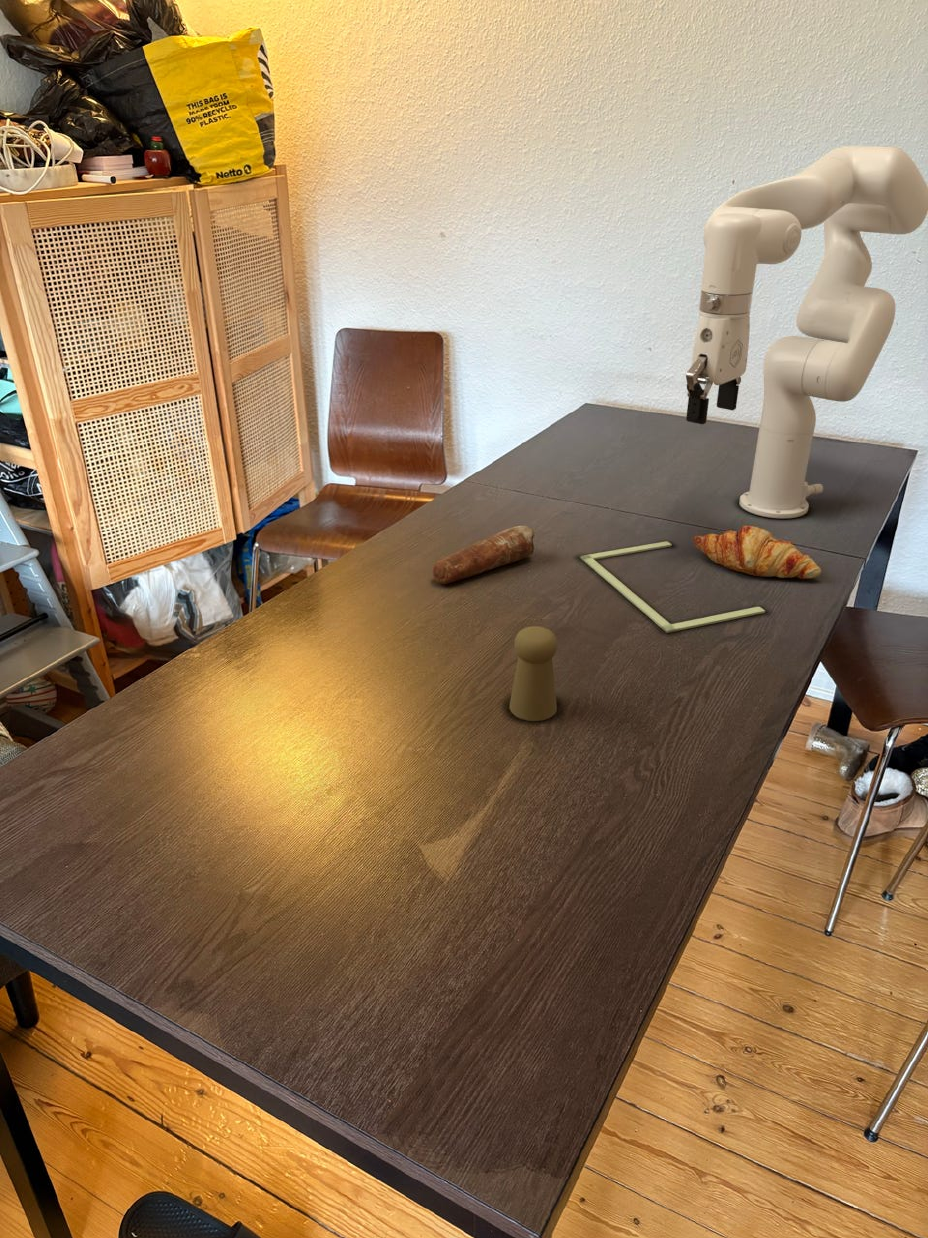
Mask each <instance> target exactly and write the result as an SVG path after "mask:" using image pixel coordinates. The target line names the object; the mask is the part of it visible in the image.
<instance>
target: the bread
mask: <svg viewBox="0 0 928 1238" xmlns="http://www.w3.org/2000/svg"><path fill="white" fill-rule="evenodd" d="M534 533H535V532H534V530H533V529H532V528H530V527H528V526H527V525H524V524H522V525H517V526H514V527H513V526H512V527H509V528H508V529H505V530H502V531H500V532H497V533H495V534H493V535H491V536H489V537H486V538H484V539H481V540H478V541H477V542H475V543H473V544H471V545H469V546H467V547H465V548H462V549H460V550H458V551H456V552H454V553H452V554H450V555H448V556H446V557H444V558H443V559H440V560H438V561H435V563H434V565H433V567H432V574H433V579H434V580H435V581H436V582H437V583H438V584H442V585H447V584H451V583H453V582H457V581H460V580H463V579H467V578H470V577H474V576H477V575H479V574H482V573H484V572H487V571H490V570H492V569H495V568H498V567H502V566H504V565H508V564H511V563H514V562H517V561H521V560H523V559H526V558H528V557H529V556H531V555H533V553H534V550H535V546H534V545H535V544H534V541H533V540H534Z"/></svg>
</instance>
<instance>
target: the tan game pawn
mask: <svg viewBox="0 0 928 1238" xmlns="http://www.w3.org/2000/svg"><path fill="white" fill-rule="evenodd" d="M557 650H558V640H557V637H556V635H555V634H554V632H553V631H552V630H551V629H549V628H547V627H543V626H537V625H532V626H528V627H524V628H522V629H521V630H519V631H518V632H517V634H516V636H515V637H514V651H515V653H516V655H517V656H518V657H517V663H516V666H515V667H516V668H515V672H514V679H513V685H512V689H511V694H510V700H509V707H508V708H509V710H510V713H511V714H513V716H515V717H516V718H518V719H520V720H523V721H528V722H539V721H545V720H548V719H550V718H552V717H553V716H555V714H556V713H557V711H558V706H557V705H558V704H557V695H556V684H555V675H554V665H553V664H554V663H553V657H555V655H556V653H557Z"/></svg>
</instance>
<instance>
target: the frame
mask: <svg viewBox="0 0 928 1238" xmlns="http://www.w3.org/2000/svg"><path fill="white" fill-rule="evenodd" d="M670 547H672V543H670V542H669V541H668V540H667V541H666V540H665V541H661V542H654V543H649V544H641V545H637V546H632V547H631V546H630V547H625V548H620V549H613V550H608V551H602V552H597V553H590V554H583V555H580V556H579V557H580V558H579V559H581V560H582V561H583V562H584V563H585V564H586V565H587V566H589V567H590V568H591V569H592V570H593V571H595V572H596V573H597V574H598V575H599V576H601V577H602V578H603V579H604V580H605V581H606V582H607V583H608V584H610V585H611V586H612V587H613V588H614V589H615V590H617V591H618V592H619V593H620V594H621V595H622V596H623V597H625V598H626V599H627V600H628V601H629V602H631V603H632V604H633V605H634V606H635V607H636V608H638V609H639V610H640V611H641V612H642V613H643V614H645V616H646V617H648V618H649V619H650V620H651V621H653V622H654V623H655V624H656V625H657V626H658V627H659V628H661V629H662V630H663V631H664V632H665V633H666V634H668V633H674V632H679V631H683V630H689V629H694V628H698V627H703V626H707V625H713V624H717V623H718V624H719V623H722V622H723V623H724V622H728V621H733V620H736V619H741V618H746V617H751V616H757V615H762V614H766V610H765V609H763V608H762V607H761V606H753V607H750V608H749V607H748V608H744V609H739V610H735V611H729V612H725V613H719V614H715V615H710V616H705V617H700V618H696V619H695V618H694V619H691V620H685V621H680V622H675V623H670V622H668V620H666V619H665V618H664V617H663V616H661V614H659V613H658V612H657V611H656V610H655V609H653V608H652V607H651V606H650V605H649V604H647V602H645V601H644V600H643V599H642V598H640V597H639V596H638V595H637V594H635V592H633V591H632V590H631V589H629V587H627V586H626V585H625V584H624V583H623V582H621V581H620V580H619V579H618V578H616V577H615V575H613V574H612V573H611V572H609V571H608V570H607V569H606V568H605V567H603V566H602V565H601V564H600V563H599V562H598V561H596V560H600V559H606V558H613V557H618V556H624V555H630V554H635V553H636V554H637V553H640V552H648V551H654V550H658V549H664V548H670Z"/></svg>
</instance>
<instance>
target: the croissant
mask: <svg viewBox="0 0 928 1238" xmlns="http://www.w3.org/2000/svg"><path fill="white" fill-rule="evenodd" d="M693 544H694V546H695V547H696V548H697V549H698V550H700V551H701V553H703V554H705V555H706V556H707V558H708V559H710V560H711V561H712V562H714V563H715V564H718V565H721V566H724V568H727V569H729V570H732V571H734V572H737V573H739V572H741V573H744V574H747V575H750V576H755V577H768V578H769V577H777V578H778V579H784V578H785V579H786V578H788V579H790V578H791V579H793V578H795V577H796V578H799V579H803V580H805V579H815V578H817V577H819V576H820V575H821V573H822V569H821V567H820V566H818V565H817V563H816V562H815V561H814V560H813V558H811V556H810V555H808V554H803V553H802V552H801V551H800V550H798V548H797V547H796V545H794V544H793V542H792V541H790V540H789V541H787V540H779V539H775V538H774V536H773V535H772V533H771V532H770V531H768V530H766V529H763V528H760V527H758V526H754V525H753V526H752V525H751V526H750V525H746V524H745V525H743V526H742V527H740V529H739V530H738V531H735V530H731V529H730V530H726V531H724V532H723V533H721V534H717V533H706V534H705V535H700V534H699V535H698V534H697V535H695V536H694V538H693Z"/></svg>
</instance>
